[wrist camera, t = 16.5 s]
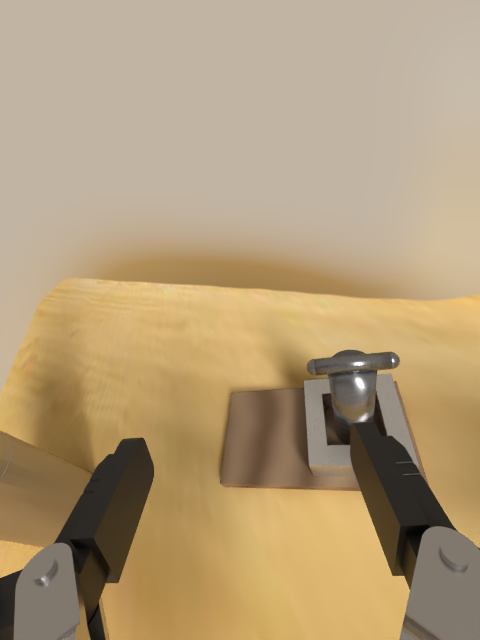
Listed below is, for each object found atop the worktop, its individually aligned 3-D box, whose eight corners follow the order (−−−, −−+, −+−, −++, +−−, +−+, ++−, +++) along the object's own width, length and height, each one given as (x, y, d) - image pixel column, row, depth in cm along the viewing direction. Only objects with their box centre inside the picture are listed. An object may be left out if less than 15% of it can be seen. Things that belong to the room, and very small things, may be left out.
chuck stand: (224, 486, 35) (209, 474, 32) (235, 397, 43) (223, 380, 40) (427, 493, 29) (435, 478, 25) (395, 387, 37) (398, 365, 34)
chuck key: (323, 448, 33) (307, 383, 23) (319, 415, 36) (304, 345, 26) (393, 447, 31) (408, 375, 21) (383, 412, 34) (393, 335, 24)
